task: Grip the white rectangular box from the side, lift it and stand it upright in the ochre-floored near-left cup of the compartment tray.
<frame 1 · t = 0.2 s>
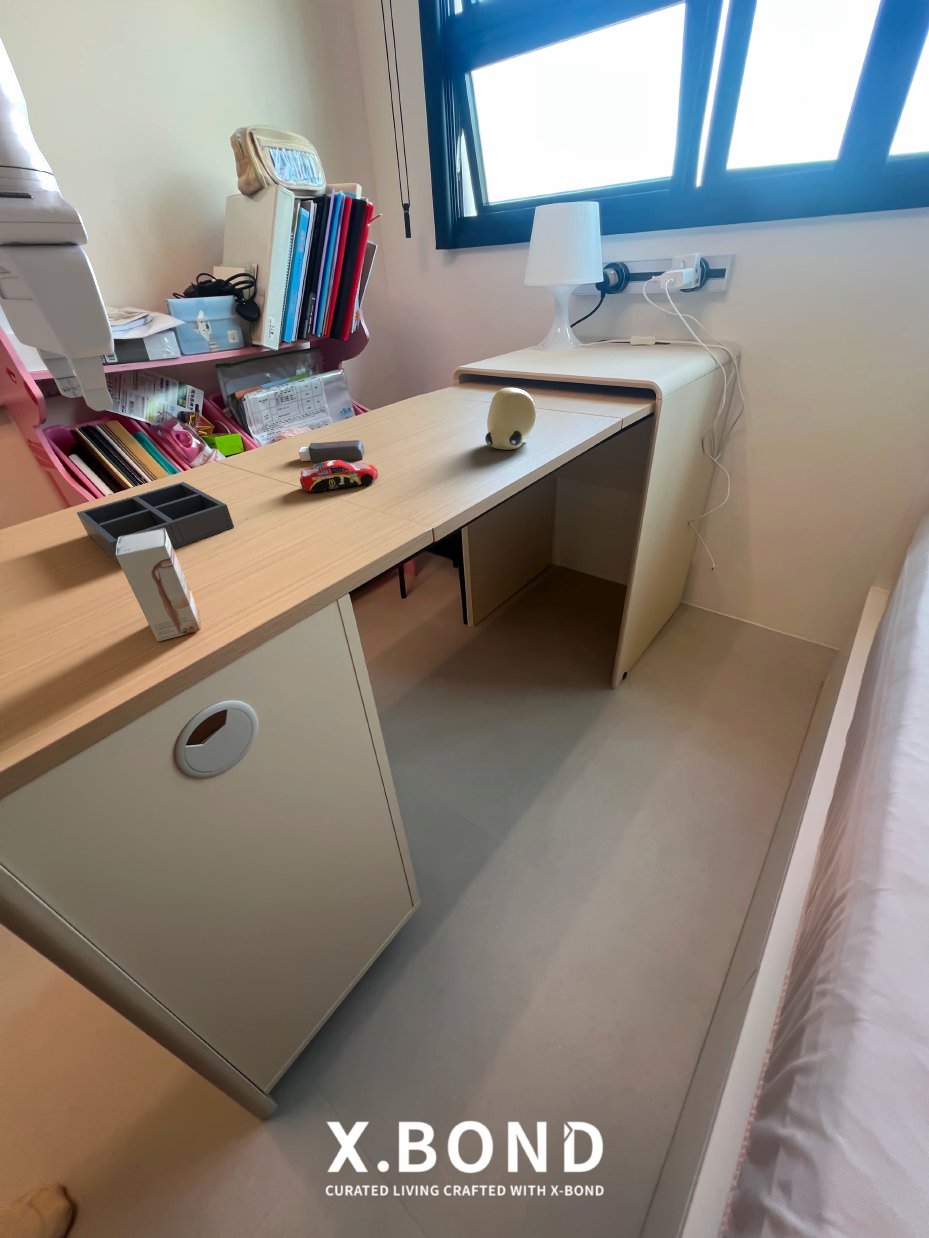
hand: (87, 402, 49), 21 cm above the table, tool pointing down, fingers open, 8 cm apart
yellow toy head: (509, 445, 102), on the table
compartment tray: (161, 531, 75), on the table
race car: (341, 486, 87), on the table
white rectangular box: (180, 626, 55), on the table
usb drive: (333, 458, 100), on the table
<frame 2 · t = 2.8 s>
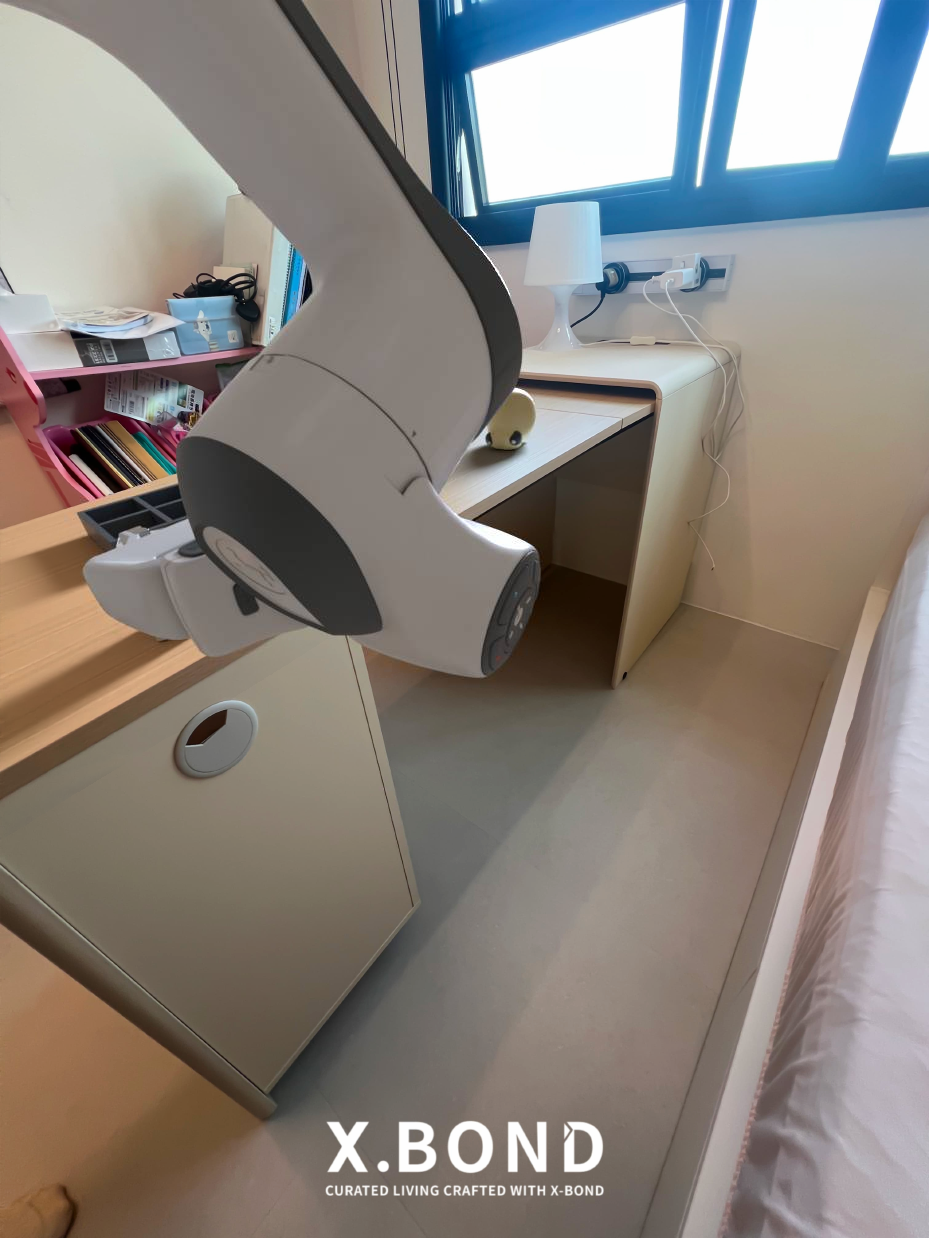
hand: (190, 515, 40), 15 cm above the table, tool horizontal, fingers open, 8 cm apart
nothing on the table moved.
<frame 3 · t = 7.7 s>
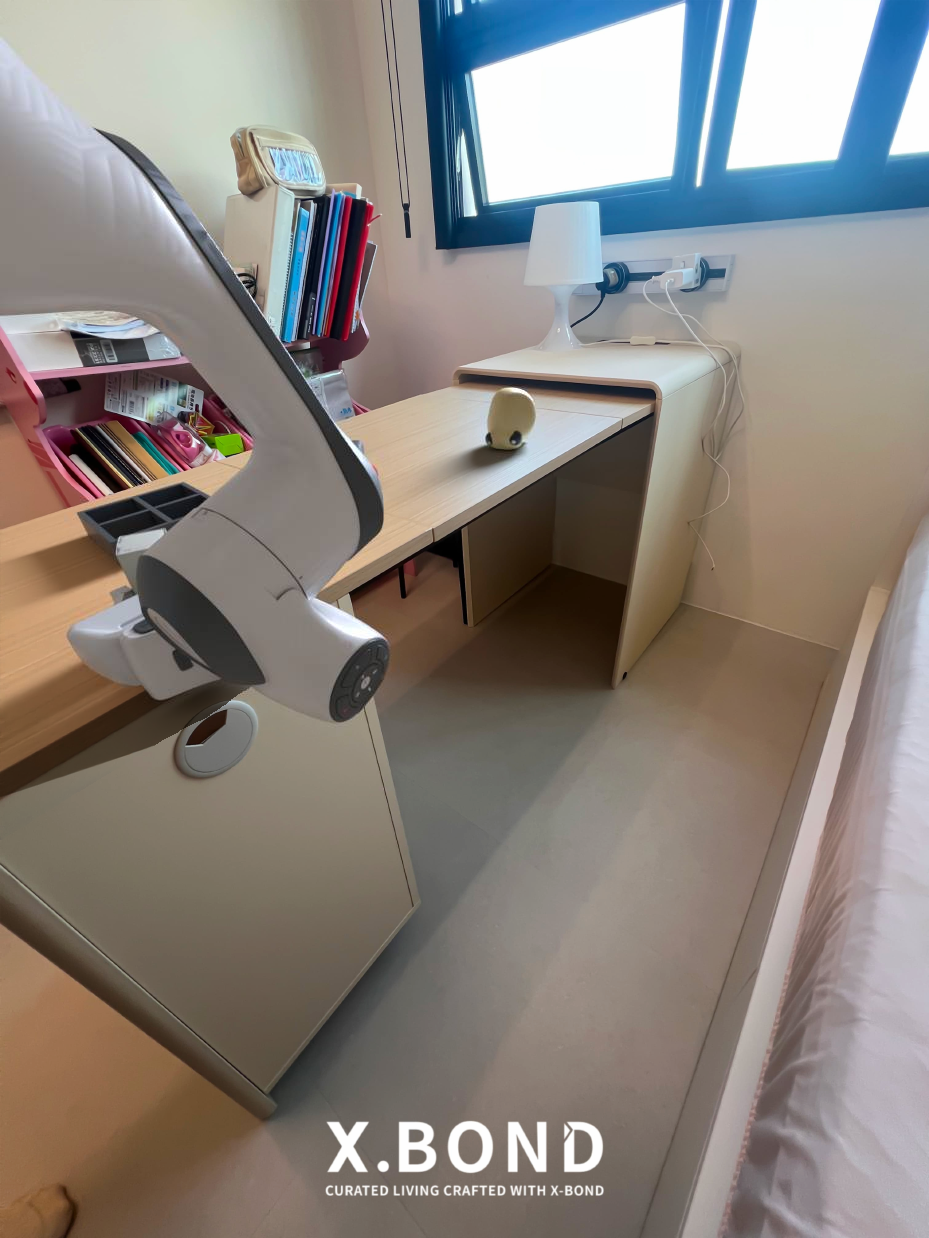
hand: (154, 579, 52), 6 cm above the table, tool horizontal, fingers closed on white rectangular box, 6 cm apart
white rectangular box: (180, 626, 55), on the table, touching gripper
everything else where it was.
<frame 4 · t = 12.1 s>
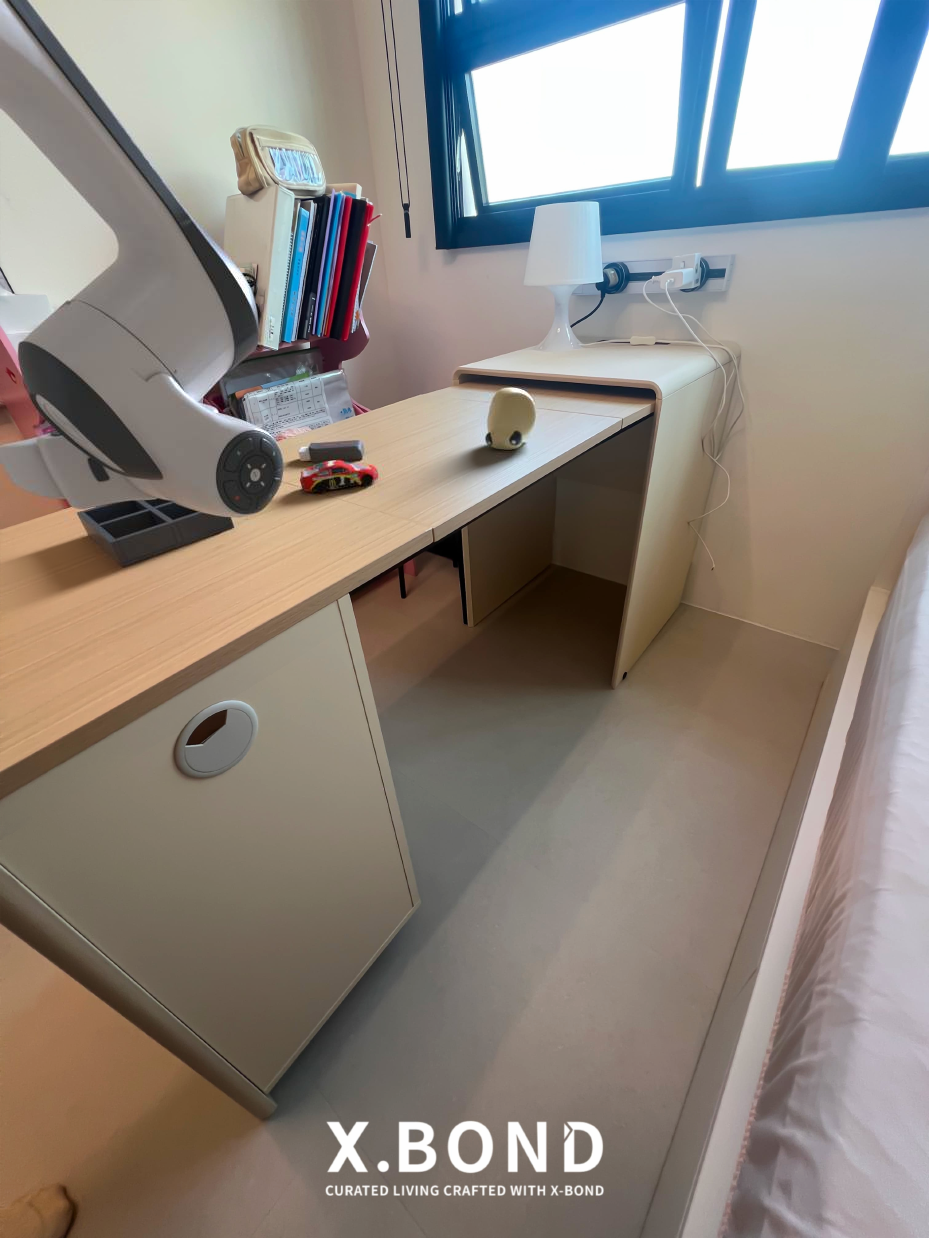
hand: (90, 433, 56), 17 cm above the table, tool horizontal, fingers closed on white rectangular box, 6 cm apart
white rectangular box: (117, 483, 59), point 11 cm above the table, touching gripper
everything else where it was.
when the fingers open (6 cm above the table, at t = 16.5 s): white rectangular box stays where it is, resting on compartment tray.
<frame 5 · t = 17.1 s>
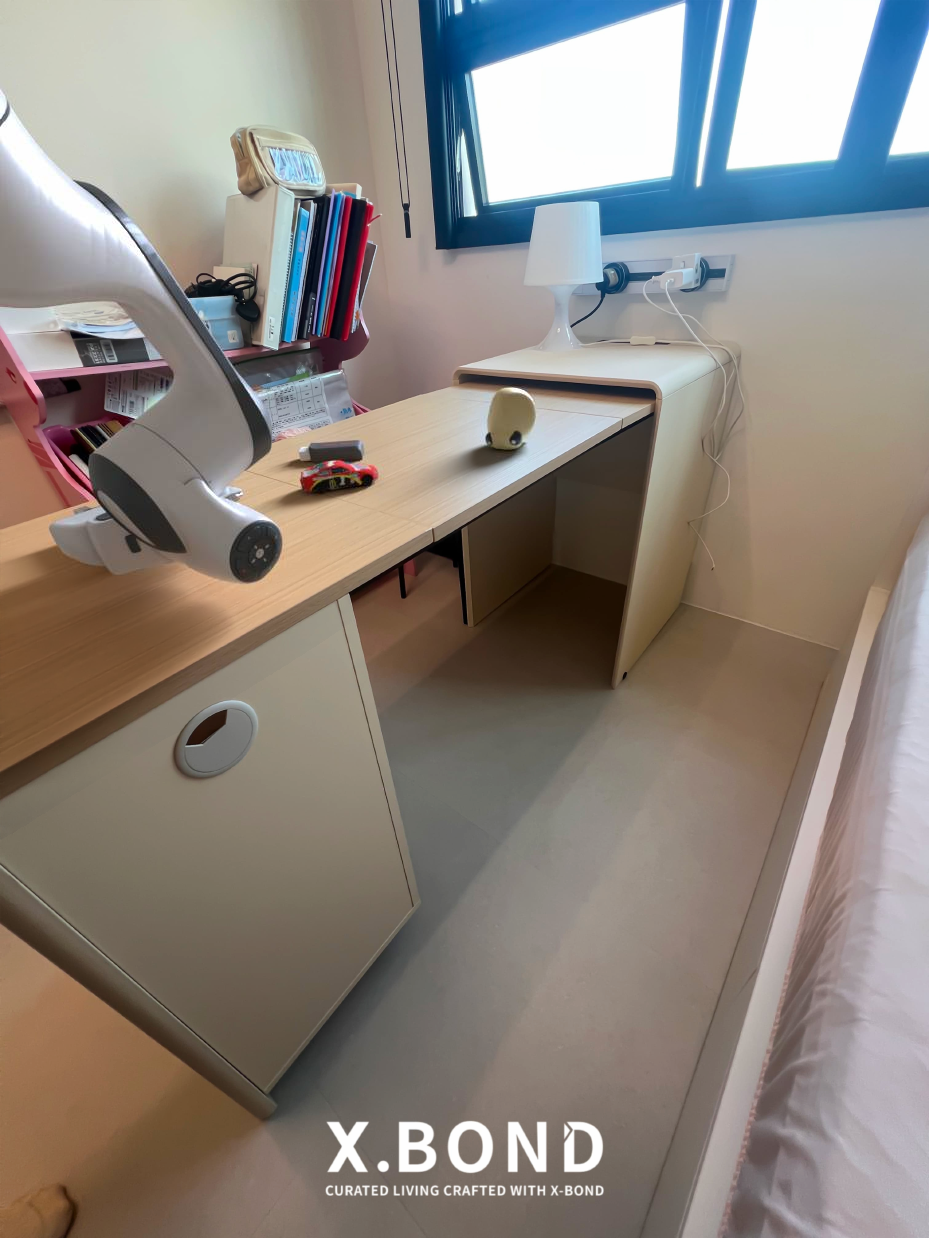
hand: (119, 501, 67), 7 cm above the table, tool horizontal, fingers open, 8 cm apart
white rectangular box: (144, 543, 70), point 1 cm above the table, touching compartment tray
everything else where it was.
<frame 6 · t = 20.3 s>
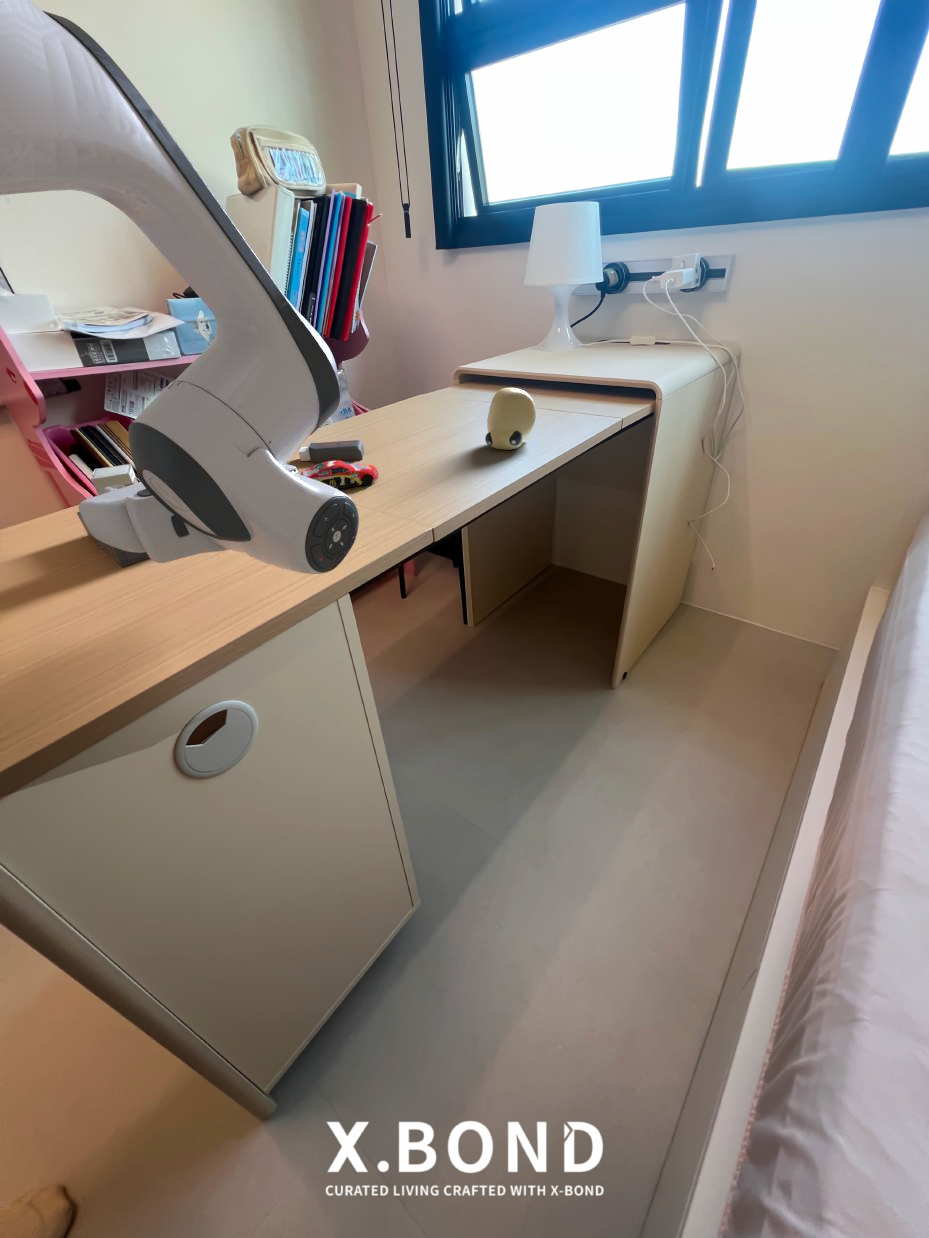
hand: (155, 479, 58), 12 cm above the table, tool horizontal, fingers open, 8 cm apart
nothing on the table moved.
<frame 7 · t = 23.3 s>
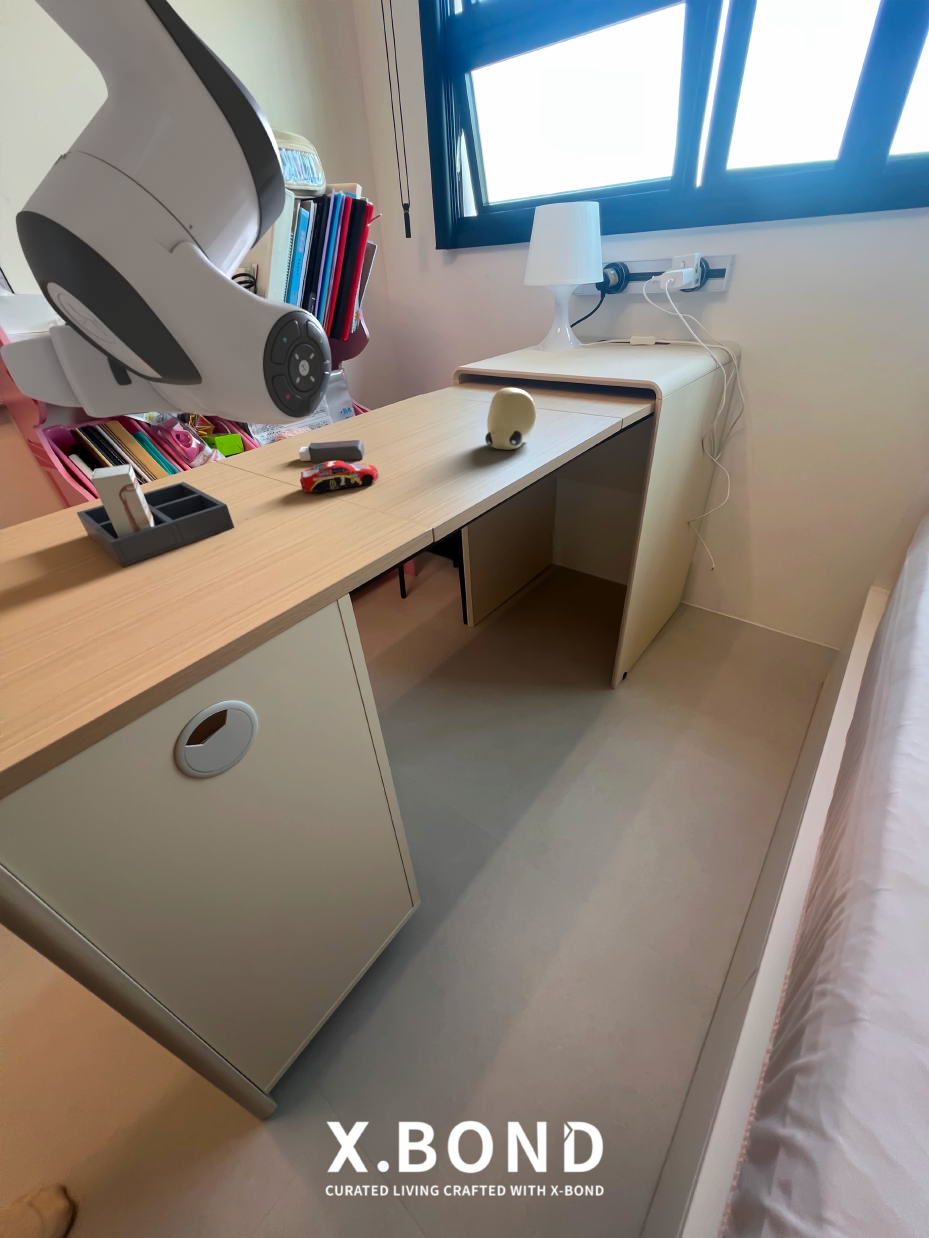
hand: (104, 351, 50), 25 cm above the table, tool horizontal, fingers open, 8 cm apart
nothing on the table moved.
at the end: white rectangular box 0.2 cm from the target spot in the compartment tray, point 0.6 cm above the compartment tray's base; white rectangular box tilted 0°; the gripper is holding nothing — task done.
